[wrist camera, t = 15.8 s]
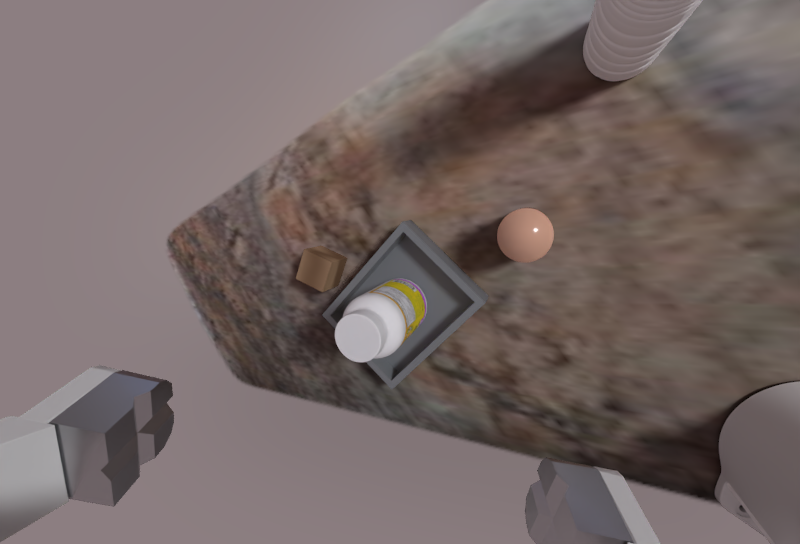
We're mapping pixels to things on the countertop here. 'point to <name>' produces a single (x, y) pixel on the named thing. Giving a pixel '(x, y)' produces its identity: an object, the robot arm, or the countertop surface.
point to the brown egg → (525, 235)
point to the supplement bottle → (380, 320)
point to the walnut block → (321, 268)
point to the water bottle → (631, 34)
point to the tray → (440, 283)
